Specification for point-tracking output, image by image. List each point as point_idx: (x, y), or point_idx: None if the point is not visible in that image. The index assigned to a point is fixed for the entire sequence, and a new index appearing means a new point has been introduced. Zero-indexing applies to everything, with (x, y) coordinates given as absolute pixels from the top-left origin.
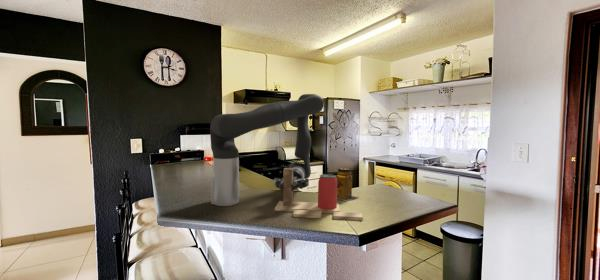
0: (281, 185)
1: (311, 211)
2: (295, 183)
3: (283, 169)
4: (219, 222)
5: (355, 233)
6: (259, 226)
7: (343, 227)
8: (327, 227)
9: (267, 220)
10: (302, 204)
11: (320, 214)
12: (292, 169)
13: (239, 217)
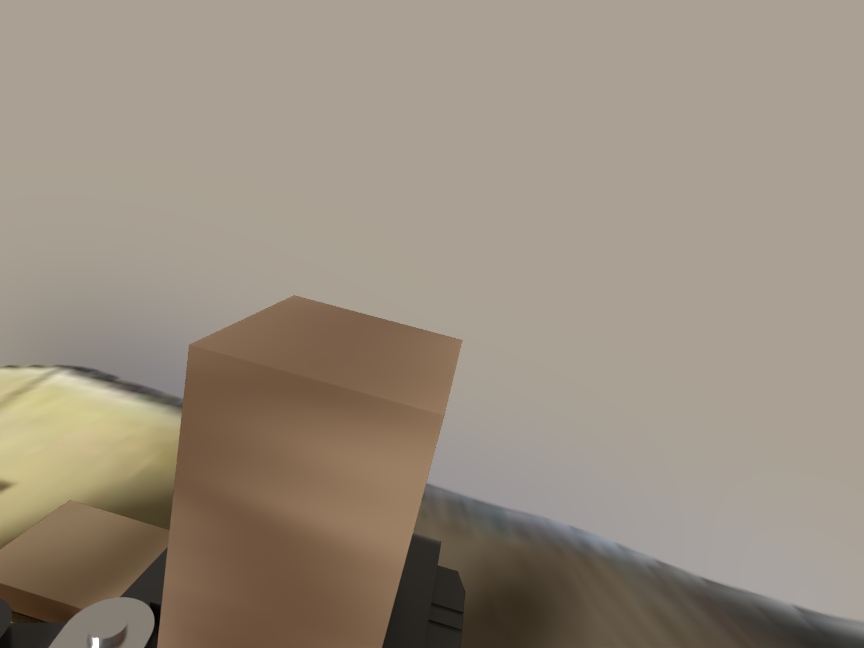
0: (424, 541)
1: (81, 581)
2: (134, 617)
3: (461, 343)
4: (721, 588)
5: (58, 374)
6: (486, 506)
7: (51, 412)
8: (138, 429)
9: (461, 562)
10: None
11: (60, 511)
12: (260, 321)
13: (669, 644)
